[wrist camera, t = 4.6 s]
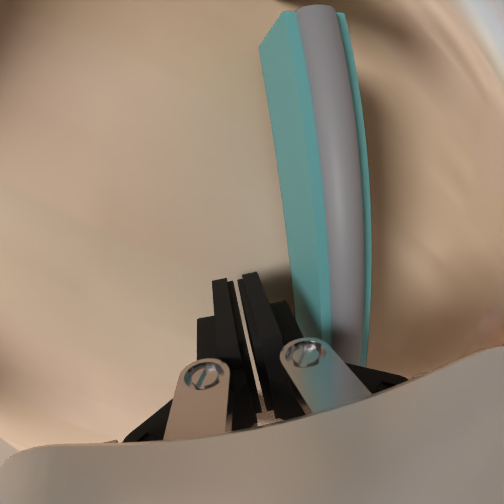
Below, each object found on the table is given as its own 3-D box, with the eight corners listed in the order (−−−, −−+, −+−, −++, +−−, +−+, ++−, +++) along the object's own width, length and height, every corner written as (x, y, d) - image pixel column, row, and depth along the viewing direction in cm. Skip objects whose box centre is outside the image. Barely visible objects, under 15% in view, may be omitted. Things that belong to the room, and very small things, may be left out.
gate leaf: (258, 47, 9) (288, 3, 5) (303, 45, 9) (352, 6, 5) (300, 376, 14) (326, 439, 10) (332, 367, 14) (363, 427, 11)
